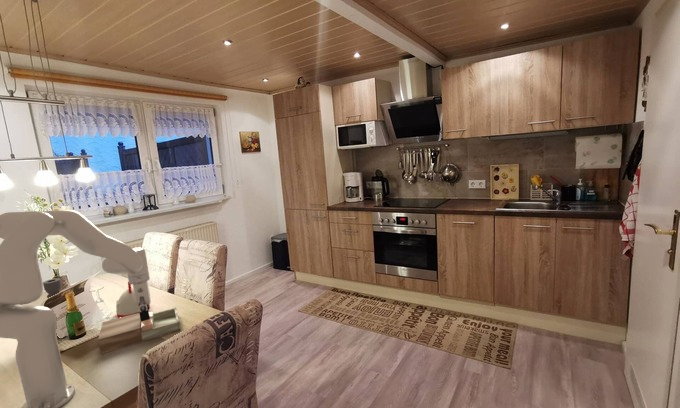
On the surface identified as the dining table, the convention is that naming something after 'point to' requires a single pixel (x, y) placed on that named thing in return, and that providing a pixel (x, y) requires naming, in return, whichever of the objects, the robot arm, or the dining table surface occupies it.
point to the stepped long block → (135, 330)
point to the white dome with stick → (127, 303)
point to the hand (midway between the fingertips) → (145, 315)
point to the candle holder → (52, 287)
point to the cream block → (151, 317)
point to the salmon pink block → (147, 325)
